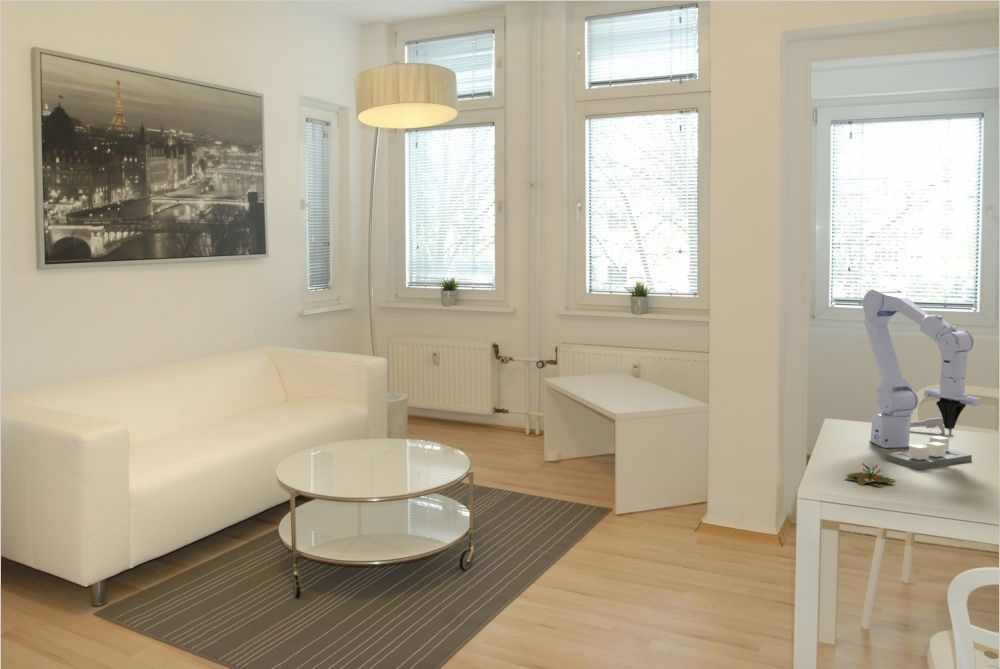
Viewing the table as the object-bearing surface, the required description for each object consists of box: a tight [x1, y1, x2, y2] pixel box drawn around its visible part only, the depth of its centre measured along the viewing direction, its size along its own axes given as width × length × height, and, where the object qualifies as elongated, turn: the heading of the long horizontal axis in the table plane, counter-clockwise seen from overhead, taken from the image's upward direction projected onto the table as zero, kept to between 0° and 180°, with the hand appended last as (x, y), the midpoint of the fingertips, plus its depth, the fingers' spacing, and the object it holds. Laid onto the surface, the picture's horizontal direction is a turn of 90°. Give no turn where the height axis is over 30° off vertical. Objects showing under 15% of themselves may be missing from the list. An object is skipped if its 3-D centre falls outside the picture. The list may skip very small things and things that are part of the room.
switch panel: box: [885, 448, 973, 470], centre depth 219 cm, size 20×10×2 cm, turn 115°
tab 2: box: [926, 441, 947, 457], centre depth 217 cm, size 4×3×3 cm
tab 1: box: [929, 435, 950, 449], centre depth 223 cm, size 4×3×3 cm
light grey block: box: [908, 443, 929, 460], centre depth 214 cm, size 4×3×3 cm
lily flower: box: [845, 462, 896, 489], centre depth 201 cm, size 12×12×5 cm
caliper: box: [910, 417, 953, 435], centre depth 251 cm, size 20×1×6 cm, turn 72°
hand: (949, 428), depth 219 cm, fingers closed
